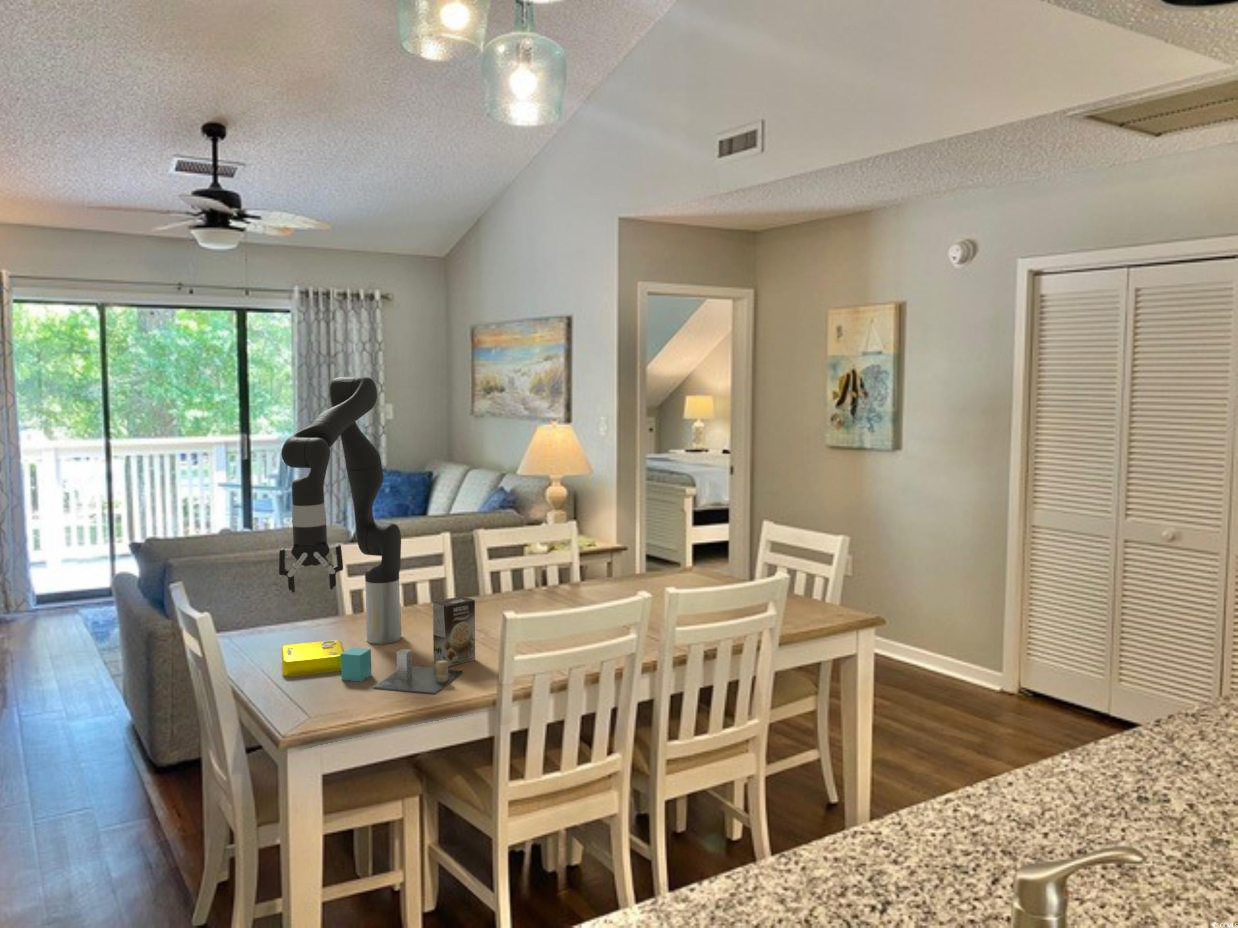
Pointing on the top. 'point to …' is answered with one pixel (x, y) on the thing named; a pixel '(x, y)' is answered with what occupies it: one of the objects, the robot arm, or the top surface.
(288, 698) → the top surface
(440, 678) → the birch peg
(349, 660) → the teal toy cube
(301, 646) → the element tile
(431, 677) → the grey square base plate
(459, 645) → the coffee box
